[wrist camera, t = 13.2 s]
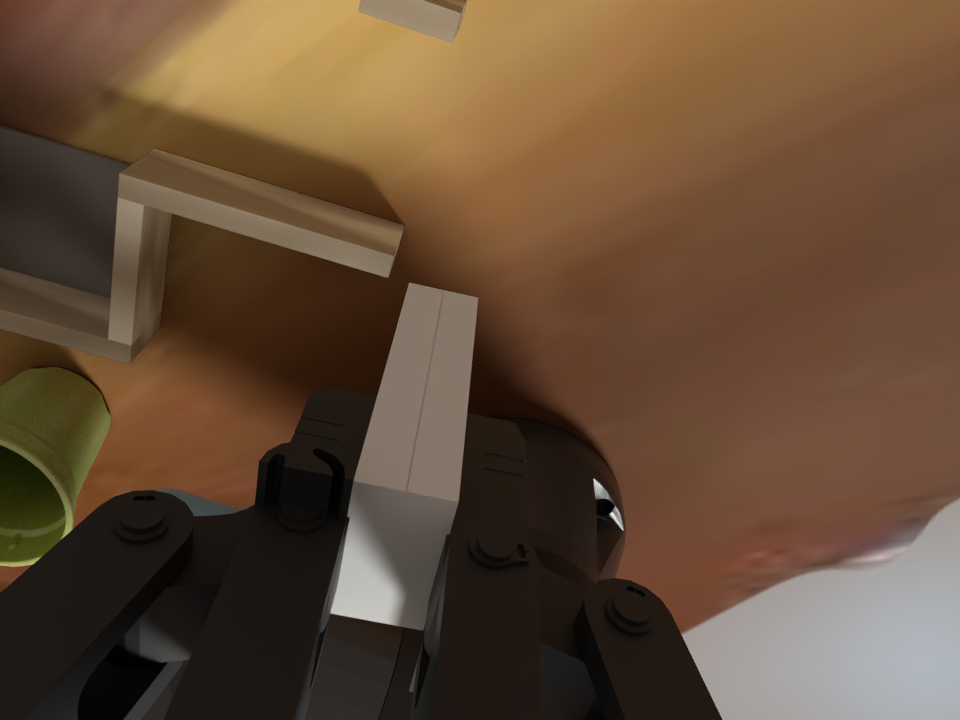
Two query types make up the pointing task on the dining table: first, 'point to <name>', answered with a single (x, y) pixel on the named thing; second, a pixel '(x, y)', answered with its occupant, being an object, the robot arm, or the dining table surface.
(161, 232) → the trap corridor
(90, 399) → the plant pot
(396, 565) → the robot arm
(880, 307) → the dining table surface
